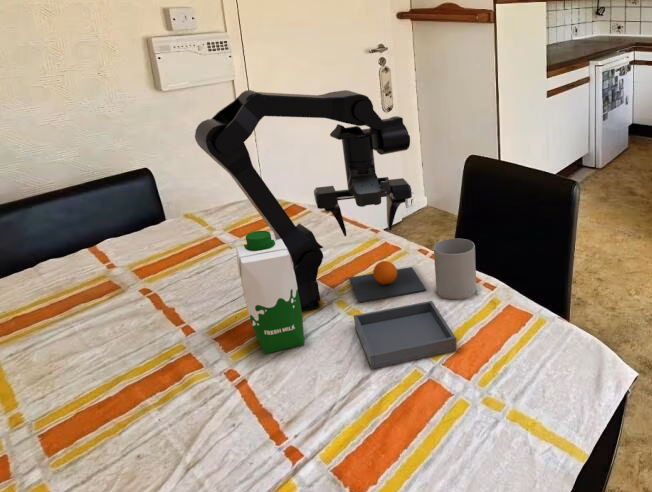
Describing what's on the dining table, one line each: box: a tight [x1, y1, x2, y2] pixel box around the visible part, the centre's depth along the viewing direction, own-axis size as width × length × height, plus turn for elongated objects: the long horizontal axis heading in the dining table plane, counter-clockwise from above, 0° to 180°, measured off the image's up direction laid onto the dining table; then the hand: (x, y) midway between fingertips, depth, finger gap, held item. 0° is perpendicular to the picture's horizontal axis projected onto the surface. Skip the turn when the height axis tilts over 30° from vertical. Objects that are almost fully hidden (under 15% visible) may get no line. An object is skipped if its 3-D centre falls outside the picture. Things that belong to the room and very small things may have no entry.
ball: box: [372, 260, 398, 285], centre depth 132 cm, size 5×5×5 cm
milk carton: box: [235, 230, 305, 355], centre depth 109 cm, size 9×9×20 cm
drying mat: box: [349, 266, 427, 304], centre depth 134 cm, size 14×12×1 cm
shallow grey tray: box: [353, 300, 458, 370], centre depth 114 cm, size 15×15×3 cm
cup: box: [433, 237, 477, 300], centre depth 129 cm, size 8×8×10 cm
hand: (367, 232), depth 130 cm, fingers open, 9 cm apart
